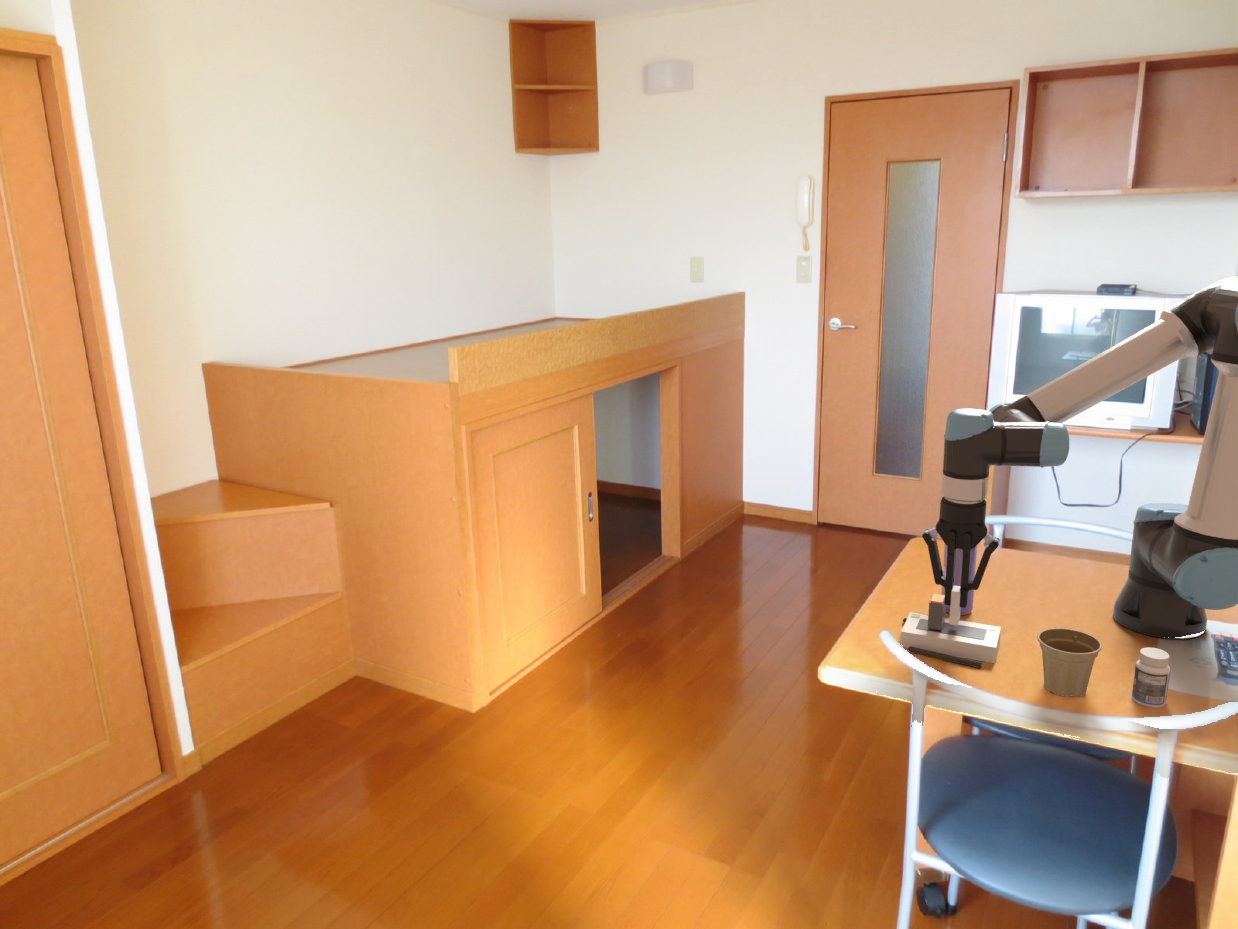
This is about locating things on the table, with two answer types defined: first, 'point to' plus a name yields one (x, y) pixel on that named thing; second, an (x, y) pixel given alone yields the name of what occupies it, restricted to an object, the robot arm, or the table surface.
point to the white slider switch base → (952, 638)
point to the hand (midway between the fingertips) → (954, 622)
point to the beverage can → (958, 576)
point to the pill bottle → (1151, 678)
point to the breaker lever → (936, 612)
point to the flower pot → (1067, 660)
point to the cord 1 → (945, 657)
